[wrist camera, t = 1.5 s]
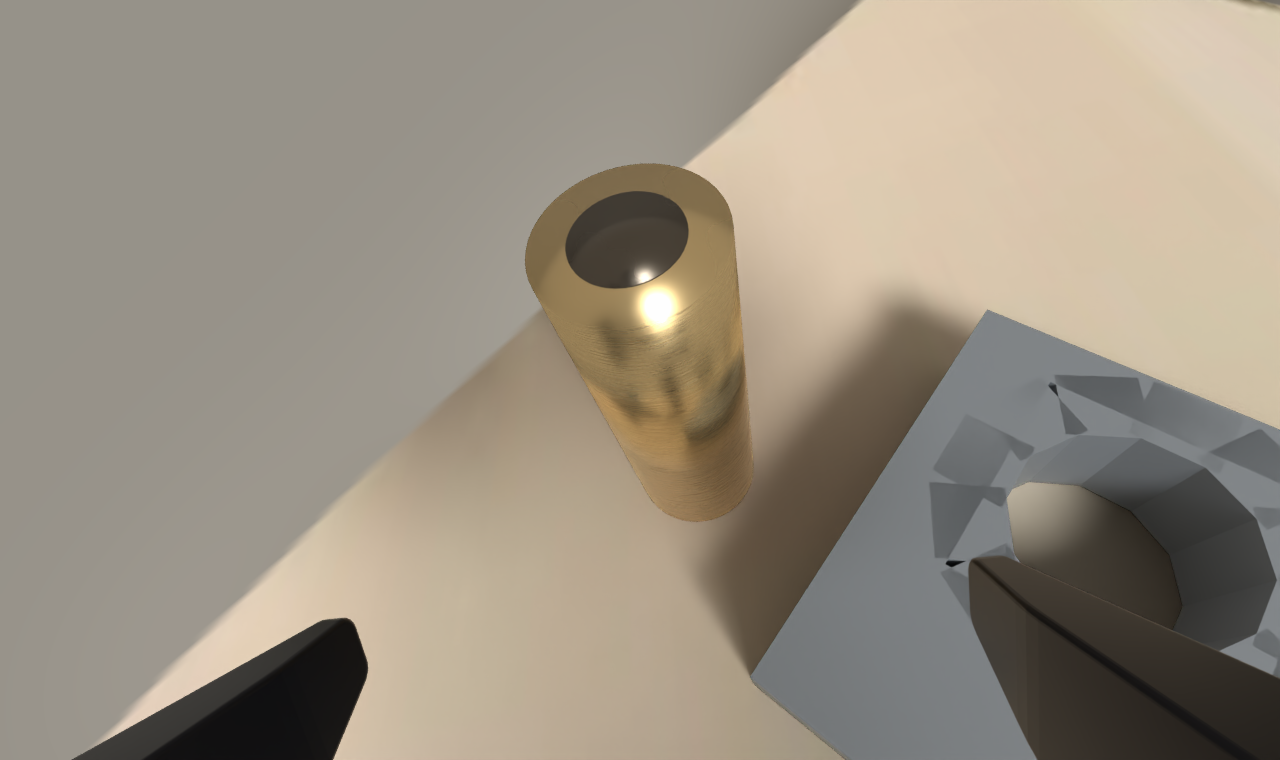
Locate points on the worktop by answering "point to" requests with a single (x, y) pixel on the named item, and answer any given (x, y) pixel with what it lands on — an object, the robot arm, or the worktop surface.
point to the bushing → (654, 326)
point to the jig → (979, 526)
